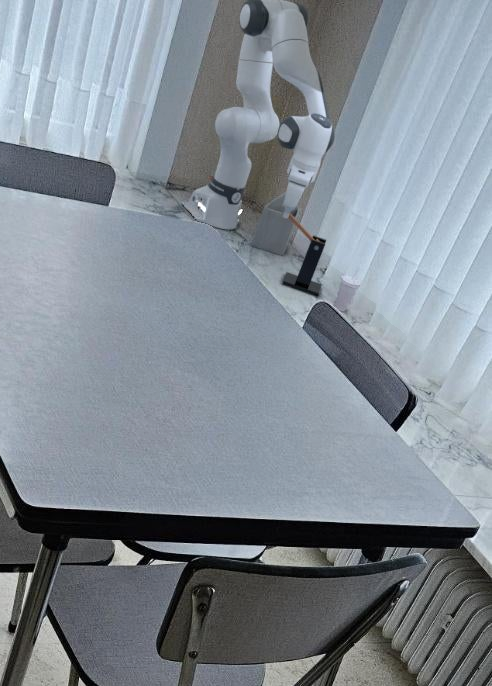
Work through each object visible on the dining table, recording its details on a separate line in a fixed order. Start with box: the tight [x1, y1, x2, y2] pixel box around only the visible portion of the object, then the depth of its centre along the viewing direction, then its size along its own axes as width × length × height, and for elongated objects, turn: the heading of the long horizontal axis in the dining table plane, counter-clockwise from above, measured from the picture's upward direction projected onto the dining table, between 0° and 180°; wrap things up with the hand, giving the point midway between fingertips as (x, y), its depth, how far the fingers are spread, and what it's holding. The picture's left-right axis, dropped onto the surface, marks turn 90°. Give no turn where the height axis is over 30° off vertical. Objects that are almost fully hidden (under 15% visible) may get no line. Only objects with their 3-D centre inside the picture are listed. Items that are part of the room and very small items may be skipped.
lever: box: [283, 213, 319, 242], centre depth 312 cm, size 16×5×2 cm, turn 77°
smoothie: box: [333, 267, 362, 312], centre depth 310 cm, size 6×6×14 cm
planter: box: [250, 191, 301, 256], centre depth 337 cm, size 16×8×19 cm, turn 123°
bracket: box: [281, 235, 327, 298], centre depth 317 cm, size 12×9×16 cm
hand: (286, 214), depth 311 cm, fingers closed on lever, 5 cm apart
